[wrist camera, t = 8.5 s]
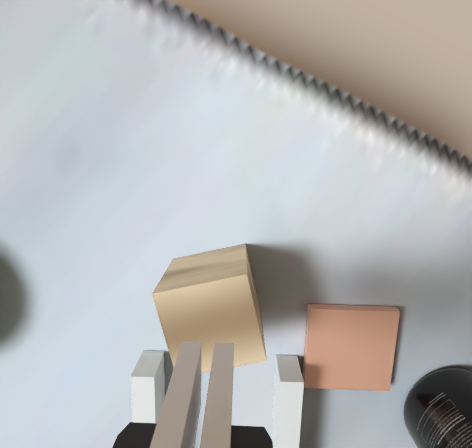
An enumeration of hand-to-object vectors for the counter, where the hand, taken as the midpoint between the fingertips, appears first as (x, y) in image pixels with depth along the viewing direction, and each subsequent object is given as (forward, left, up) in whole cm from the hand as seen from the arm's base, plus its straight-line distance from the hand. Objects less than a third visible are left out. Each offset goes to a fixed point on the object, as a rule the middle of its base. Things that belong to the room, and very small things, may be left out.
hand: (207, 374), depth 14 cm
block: (-1, 0, -11) cm, 11 cm away
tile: (-5, -9, -11) cm, 15 cm away
